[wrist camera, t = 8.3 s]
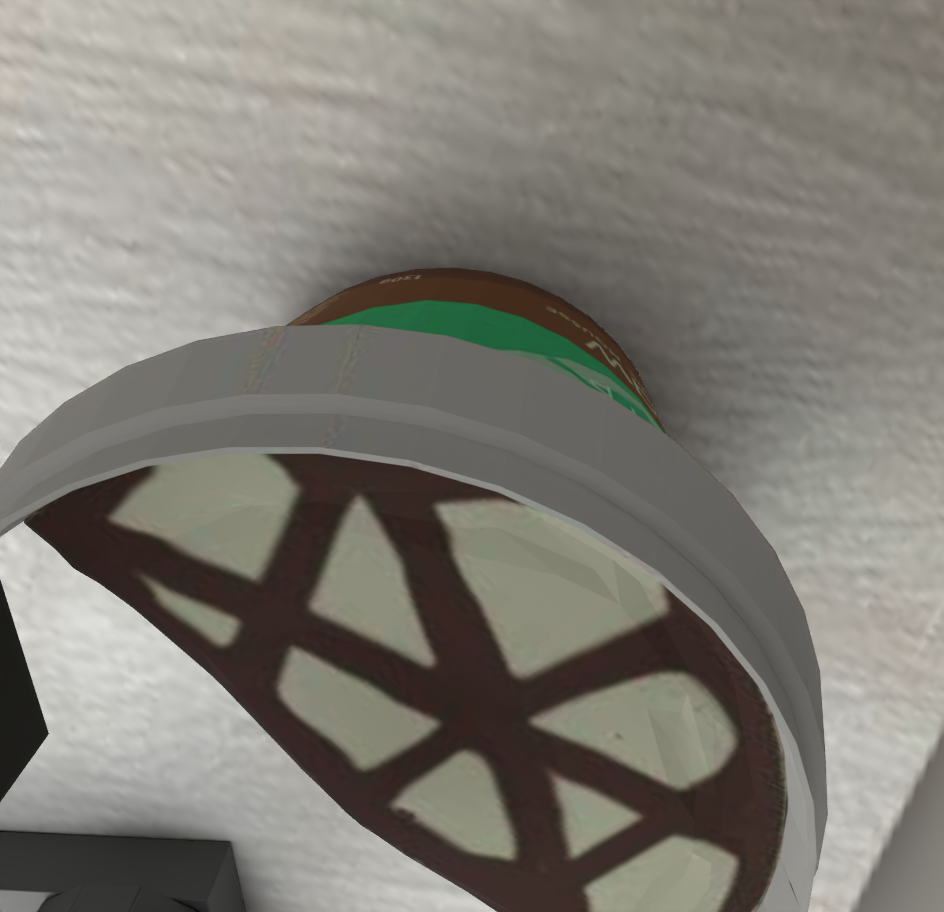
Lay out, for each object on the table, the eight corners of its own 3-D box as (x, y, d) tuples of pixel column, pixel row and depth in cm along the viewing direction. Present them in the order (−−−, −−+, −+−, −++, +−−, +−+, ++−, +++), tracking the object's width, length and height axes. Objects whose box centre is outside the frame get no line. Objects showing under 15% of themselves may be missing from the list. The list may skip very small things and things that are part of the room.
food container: (841, 513, 19) (1085, 939, 10) (616, 657, 21) (656, 1112, 13) (449, 53, 16) (307, 89, 7) (231, 278, 18) (-89, 523, 9)
